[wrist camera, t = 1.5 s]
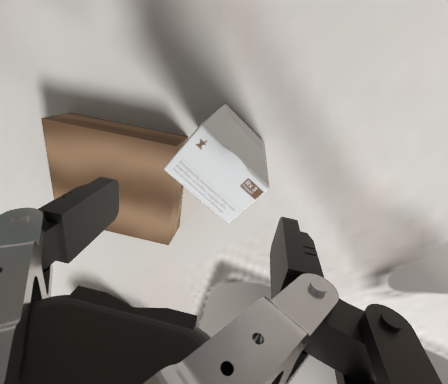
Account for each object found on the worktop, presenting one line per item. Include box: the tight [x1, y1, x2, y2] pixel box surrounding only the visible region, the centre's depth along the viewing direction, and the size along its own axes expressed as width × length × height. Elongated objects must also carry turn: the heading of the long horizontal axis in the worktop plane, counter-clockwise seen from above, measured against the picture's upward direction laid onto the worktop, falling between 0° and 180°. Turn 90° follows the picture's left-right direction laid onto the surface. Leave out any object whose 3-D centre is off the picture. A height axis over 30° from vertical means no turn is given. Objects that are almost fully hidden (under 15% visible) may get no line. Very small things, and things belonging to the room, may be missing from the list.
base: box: [41, 113, 188, 245], centre depth 29 cm, size 12×14×4 cm
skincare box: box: [164, 104, 269, 224], centre depth 21 cm, size 6×4×12 cm
